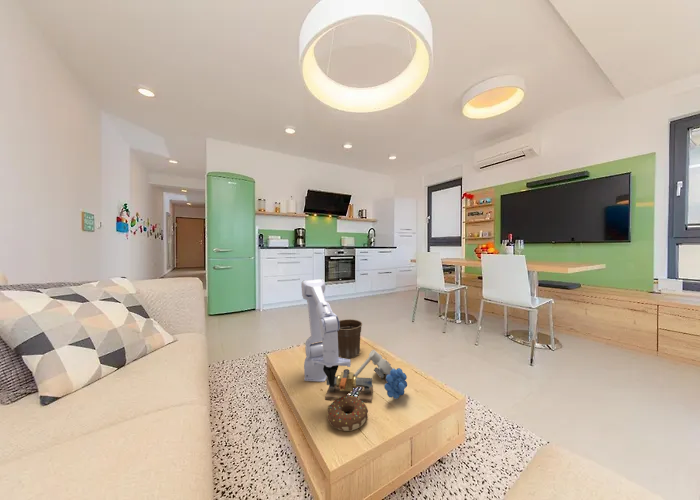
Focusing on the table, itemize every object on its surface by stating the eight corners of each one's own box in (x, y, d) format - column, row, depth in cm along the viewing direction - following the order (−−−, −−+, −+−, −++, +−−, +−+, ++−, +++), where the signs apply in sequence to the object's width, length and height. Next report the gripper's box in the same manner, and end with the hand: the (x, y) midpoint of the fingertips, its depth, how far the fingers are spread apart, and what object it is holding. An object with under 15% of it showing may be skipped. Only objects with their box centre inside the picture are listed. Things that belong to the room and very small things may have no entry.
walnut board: (325, 399, 97) (325, 396, 97) (330, 386, 106) (330, 383, 106) (371, 402, 95) (371, 399, 95) (372, 388, 104) (372, 385, 103)
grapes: (394, 411, 89) (393, 378, 89) (381, 401, 95) (379, 370, 94) (415, 397, 96) (414, 367, 96) (402, 389, 102) (401, 360, 101)
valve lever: (344, 373, 102) (343, 368, 101) (350, 373, 101) (349, 368, 101) (338, 390, 91) (338, 384, 90) (345, 390, 90) (345, 385, 90)
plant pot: (331, 348, 142) (330, 320, 142) (359, 345, 145) (358, 317, 145) (335, 362, 126) (334, 330, 126) (366, 358, 129) (365, 327, 129)
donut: (355, 401, 96) (354, 388, 96) (375, 424, 84) (374, 409, 83) (320, 415, 89) (319, 401, 89) (336, 442, 77) (335, 426, 77)
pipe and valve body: (326, 393, 99) (325, 377, 99) (329, 386, 104) (328, 371, 104) (371, 395, 97) (371, 379, 96) (372, 388, 101) (372, 373, 101)
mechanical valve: (400, 374, 108) (378, 351, 106) (373, 409, 104) (348, 386, 101) (390, 364, 118) (369, 343, 115) (364, 396, 114) (342, 374, 111)
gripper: (308, 352, 90) (310, 389, 91) (348, 353, 88) (349, 391, 89) (313, 344, 97) (315, 378, 98) (350, 345, 95) (352, 380, 96)
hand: (332, 384), depth 94 cm, fingers closed
